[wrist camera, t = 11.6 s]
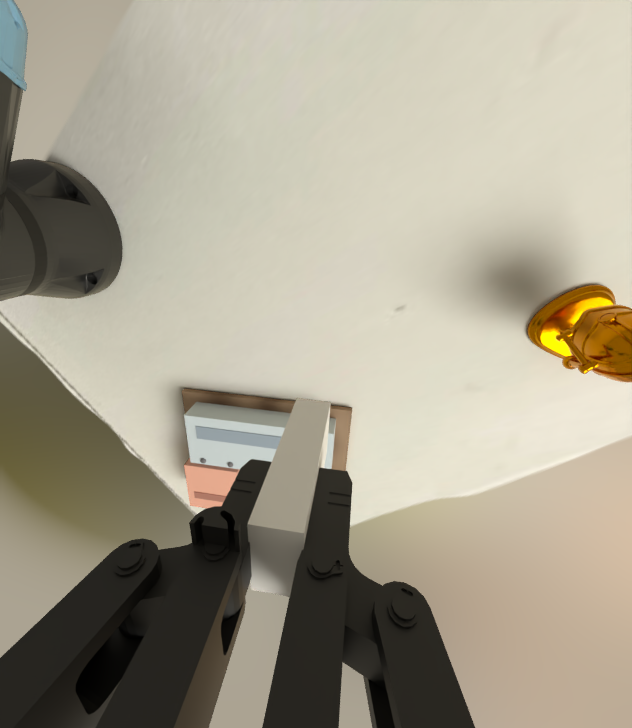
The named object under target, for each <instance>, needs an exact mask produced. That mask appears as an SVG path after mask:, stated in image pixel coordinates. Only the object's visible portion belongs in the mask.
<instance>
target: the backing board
mask: <svg viewBox="0 0 632 728" xmlns="http://www.w3.org/2000/svg"><path fill="white" fill-rule="evenodd" d="M182 396H183V403H184V410H185V413H186V412H187V411H188V410H189V409H190V408H191V407H192V406H193V405H194V404H195V403H196V402H202V403H211V404H219V405H227V406H235V407H244V408H252V409H260V410H269V411H277V412H285V413H291V412H292V409H293V407H294V404H295V401H289V400H281V399H272V398H263V397H255V396H246V395H238V394H229V393H220V392H212V391H203V390H195V389H186V388H184V389H183V390H182ZM351 414H352V408H349V407H341V406H332V405H330V417H329V418H335V419H336V426H335V437H334V449H333V461H332V469H334V470H341V471H345V470H346V461H347V451H348V442H349V433H350V424H351Z"/></svg>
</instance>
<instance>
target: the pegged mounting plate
mask: <svg viewBox="0 0 632 728" xmlns="http://www.w3.org/2000/svg"><path fill="white" fill-rule="evenodd" d="M290 414H291V413H285V412H277V411H269V410H260V409H252V408H244V407H235V406H227V405H219V404H211V403H202V402H196V403H195V404H194V405H193V406H192V407H191V408H190V409H189V410H188V411H187V412H186V413H185V415H184V419H185V426H186V433H187V440H188V447H189V455H190V462H191V463H198V464H205V465H212V466H219V467H226V468H233V469H241V467H242V466H244V465H245V464H246V463H247V462H248V461H249V460H251V459H255V460H263V461H270V462H272V460H273V457H274V455H275V452H276V450H277V447H278V445H279V442H280V440H281V437H282V435H283V432H284V429H285V427H286V424H287V422H288V419H289V417H290ZM335 426H336V419H335V418H329V430H328V443H327V454H326V460H325V465H324V468H327V469H332V461H333V449H334V437H335Z"/></svg>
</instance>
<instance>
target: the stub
mask: <svg viewBox="0 0 632 728" xmlns="http://www.w3.org/2000/svg"><path fill="white" fill-rule="evenodd" d="M184 467H185V474H186V481H187V487H188V494H189V500H190V506H196V507H202V508H211V507H214V506H222V504H223V502H224V500H225V498H226V496H227V494H228V492H229V491H230V488H231V486H232V484H233V482H234V481H235V478H236V477H237V475H238V473H239V471H240V469H233V468H226V467H219V466H212V465H205V464H198V463H191V462H190V458H189V459H188V460H187V462H186V463H185V464H184Z"/></svg>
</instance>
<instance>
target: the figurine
mask: <svg viewBox="0 0 632 728" xmlns="http://www.w3.org/2000/svg"><path fill="white" fill-rule="evenodd" d="M527 333H528V336H529V338H530V340H531V341H532V342H533V343H534V344H535V345H537V346H538V347H540V348H541V349H543V350H545V351H546V352H548V353H550V354H553V355H555V356H557V357H559V358H562V359H563V361H562V364H563V366H564V367H565V368H567V369H575V368H578V370H579V371H580V372H581V373H583V374H586V373H587V372H589V371H593V372H594V373H596V374H598V375H602V376H604V377H606V378H609V379H612V380H615V381H620V382H632V309H631V308H629V307H626V306H623V305H616V302H615V297H614V295H613V293H612V291H611V290H610V289H609V288H607V287H605V286H602V285H588V286H583V287H579V288H576V289H574V290H571V291H569V292H567V293H565V294H563V295H561V296H559V297H557V298H556V299H554V300H552V301H551V302H550V303H548V304H547V305H545V306H544V307H543V308H542V309H541V310H540V311H538V312H537V314H536V315H535V316H534V317H533V318H532V320H531V321H530V323H529V325H528V329H527Z"/></svg>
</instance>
